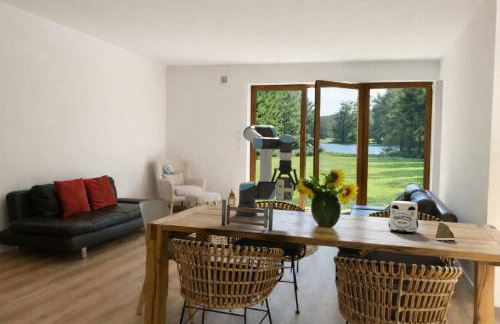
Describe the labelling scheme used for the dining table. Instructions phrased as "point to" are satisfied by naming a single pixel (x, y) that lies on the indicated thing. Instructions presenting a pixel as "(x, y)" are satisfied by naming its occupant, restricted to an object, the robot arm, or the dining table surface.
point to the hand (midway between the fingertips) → (284, 195)
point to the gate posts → (269, 214)
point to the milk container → (403, 216)
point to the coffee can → (284, 189)
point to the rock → (444, 231)
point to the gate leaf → (247, 211)
